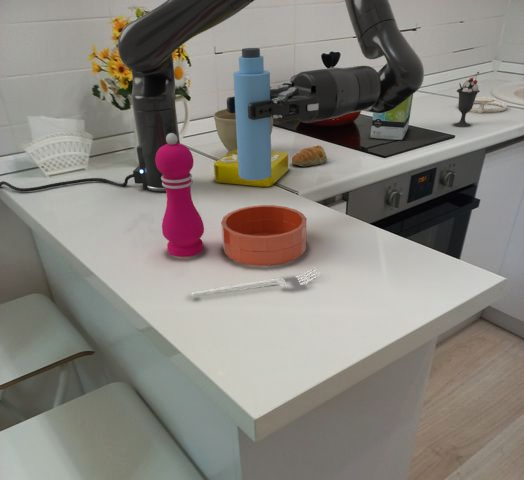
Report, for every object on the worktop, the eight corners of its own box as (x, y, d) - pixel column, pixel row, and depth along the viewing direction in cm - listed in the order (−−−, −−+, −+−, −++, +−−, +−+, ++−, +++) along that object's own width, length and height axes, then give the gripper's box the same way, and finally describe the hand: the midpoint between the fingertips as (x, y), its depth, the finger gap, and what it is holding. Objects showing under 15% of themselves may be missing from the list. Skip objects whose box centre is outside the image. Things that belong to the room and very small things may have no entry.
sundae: (477, 125, 160) (488, 72, 151) (463, 128, 157) (474, 74, 148) (460, 121, 164) (470, 70, 155) (446, 124, 161) (455, 72, 152)
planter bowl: (225, 146, 147) (222, 106, 141) (279, 147, 144) (278, 106, 138) (209, 162, 135) (205, 118, 128) (268, 164, 132) (267, 119, 125)
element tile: (270, 188, 116) (270, 167, 113) (212, 182, 120) (210, 162, 118) (290, 169, 127) (290, 149, 124) (236, 164, 132) (235, 145, 129)
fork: (190, 293, 77) (189, 282, 76) (314, 276, 81) (314, 265, 79) (193, 303, 75) (191, 292, 74) (320, 285, 78) (321, 274, 77)
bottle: (236, 180, 81) (229, 51, 70) (241, 170, 85) (234, 47, 74) (269, 180, 80) (267, 50, 69) (272, 170, 84) (271, 46, 74)
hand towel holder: (510, 91, 182) (509, 102, 166) (507, 104, 184) (506, 116, 169) (461, 89, 187) (456, 99, 172) (459, 102, 190) (453, 113, 174)
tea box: (403, 140, 147) (411, 84, 138) (369, 138, 150) (374, 83, 141) (408, 129, 158) (416, 76, 150) (376, 127, 161) (382, 75, 152)
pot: (217, 267, 84) (214, 237, 81) (230, 232, 96) (228, 204, 92) (304, 269, 83) (305, 238, 79) (306, 233, 94) (307, 205, 91)
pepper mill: (171, 264, 85) (153, 141, 74) (161, 248, 91) (142, 131, 79) (211, 256, 88) (200, 135, 76) (199, 240, 93) (186, 125, 81)
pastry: (302, 169, 127) (302, 154, 124) (285, 164, 131) (285, 149, 129) (328, 162, 131) (329, 147, 129) (311, 157, 136) (311, 142, 133)
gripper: (298, 64, 85) (212, 75, 78) (356, 73, 76) (264, 87, 68) (297, 112, 90) (216, 126, 82) (352, 126, 80) (265, 144, 73)
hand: (238, 108), depth 75 cm, fingers closed on bottle, 5 cm apart
